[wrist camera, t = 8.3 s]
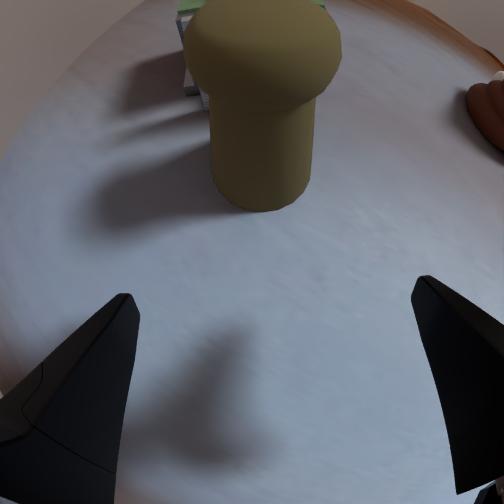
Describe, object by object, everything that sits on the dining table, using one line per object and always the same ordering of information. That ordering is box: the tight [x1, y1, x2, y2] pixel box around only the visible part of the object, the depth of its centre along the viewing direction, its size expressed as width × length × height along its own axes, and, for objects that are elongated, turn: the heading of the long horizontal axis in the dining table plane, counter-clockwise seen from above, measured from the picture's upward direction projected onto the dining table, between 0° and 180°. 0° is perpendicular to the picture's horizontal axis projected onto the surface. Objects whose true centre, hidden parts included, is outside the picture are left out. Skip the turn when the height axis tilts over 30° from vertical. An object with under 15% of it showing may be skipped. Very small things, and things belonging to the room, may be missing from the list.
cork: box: [183, 0, 342, 212], centre depth 11 cm, size 6×6×11 cm
